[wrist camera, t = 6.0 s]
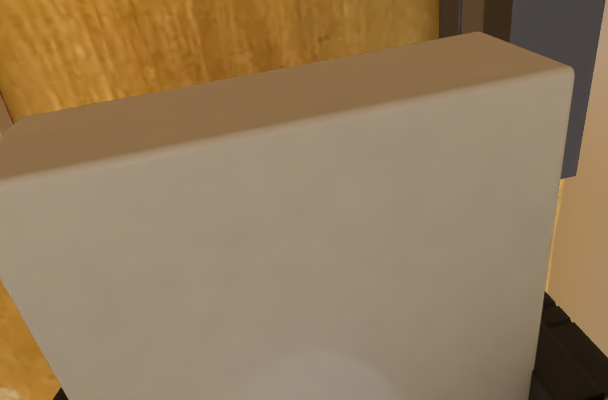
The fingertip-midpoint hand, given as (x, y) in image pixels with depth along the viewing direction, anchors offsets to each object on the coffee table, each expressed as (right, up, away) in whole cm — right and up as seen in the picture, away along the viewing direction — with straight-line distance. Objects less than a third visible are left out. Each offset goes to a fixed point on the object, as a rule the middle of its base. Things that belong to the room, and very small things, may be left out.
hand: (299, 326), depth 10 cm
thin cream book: (0, -1, -1) cm, 1 cm away
